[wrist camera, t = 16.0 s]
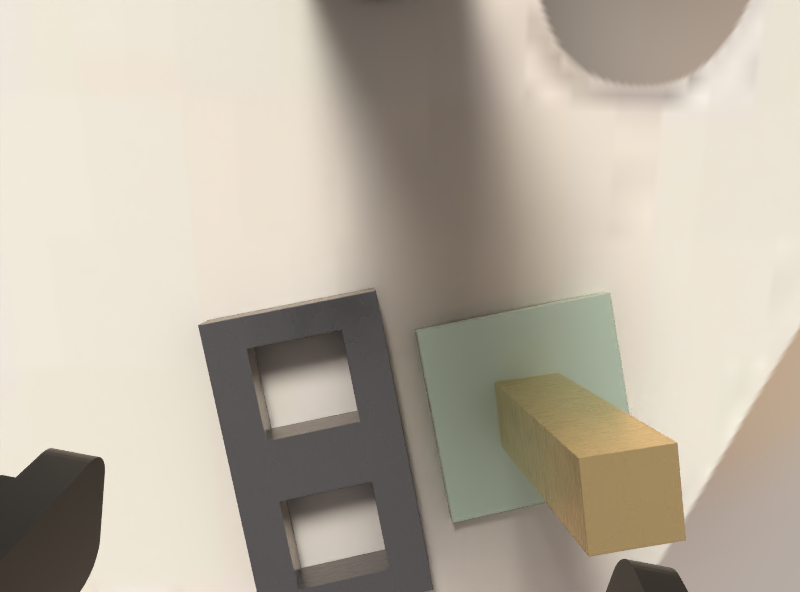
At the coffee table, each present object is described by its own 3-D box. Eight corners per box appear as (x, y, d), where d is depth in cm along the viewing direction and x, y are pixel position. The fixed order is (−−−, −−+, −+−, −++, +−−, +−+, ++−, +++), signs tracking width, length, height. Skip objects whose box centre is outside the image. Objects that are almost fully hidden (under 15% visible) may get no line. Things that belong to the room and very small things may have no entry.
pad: (415, 329, 39) (417, 332, 38) (603, 291, 40) (609, 293, 39) (450, 516, 40) (453, 523, 39) (632, 475, 41) (639, 481, 40)
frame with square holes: (207, 320, 38) (198, 325, 36) (373, 287, 39) (375, 290, 36) (269, 604, 40) (265, 628, 37) (427, 568, 40) (433, 589, 38)
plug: (494, 382, 39) (578, 458, 25) (558, 372, 39) (677, 442, 25) (501, 446, 39) (588, 556, 25) (565, 436, 39) (685, 540, 26)
